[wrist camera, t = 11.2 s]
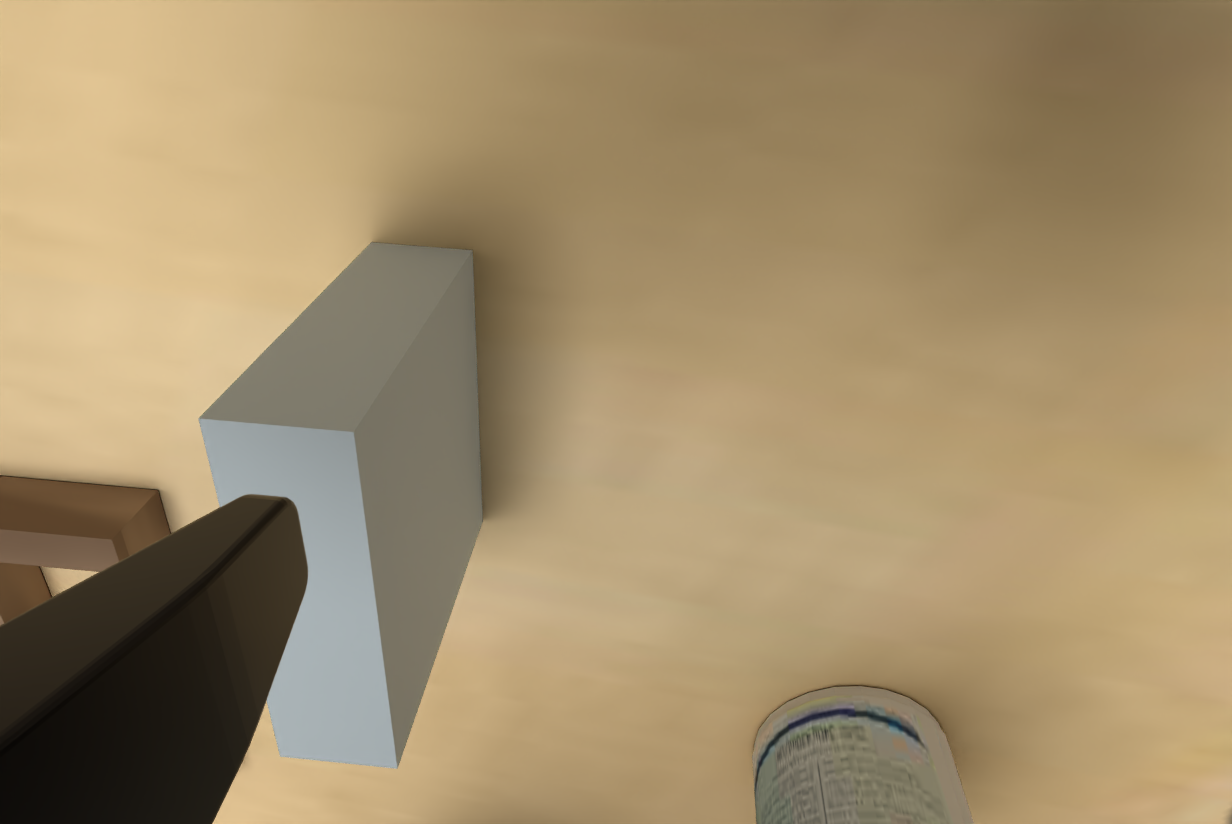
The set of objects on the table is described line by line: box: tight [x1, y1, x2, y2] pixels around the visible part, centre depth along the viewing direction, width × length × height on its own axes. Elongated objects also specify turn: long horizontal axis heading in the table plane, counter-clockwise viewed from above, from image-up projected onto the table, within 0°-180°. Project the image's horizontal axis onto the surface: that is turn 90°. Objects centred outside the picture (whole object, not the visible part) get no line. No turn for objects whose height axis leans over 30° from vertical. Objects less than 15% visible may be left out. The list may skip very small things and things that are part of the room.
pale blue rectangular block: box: [199, 242, 483, 769], centre depth 18 cm, size 8×2×8 cm, turn 177°
